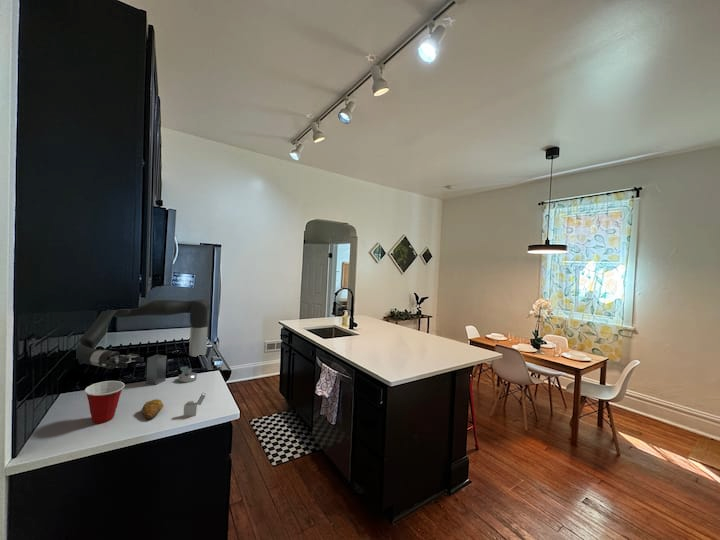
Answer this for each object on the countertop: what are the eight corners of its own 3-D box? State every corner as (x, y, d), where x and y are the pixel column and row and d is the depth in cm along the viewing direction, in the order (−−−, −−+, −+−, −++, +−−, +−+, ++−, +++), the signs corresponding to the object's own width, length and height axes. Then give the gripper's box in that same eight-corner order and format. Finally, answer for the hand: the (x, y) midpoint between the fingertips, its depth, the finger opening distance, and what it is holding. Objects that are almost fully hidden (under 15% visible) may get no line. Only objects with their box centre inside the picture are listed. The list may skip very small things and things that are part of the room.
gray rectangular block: (146, 383, 134) (147, 357, 134) (155, 379, 139) (156, 354, 139) (156, 384, 133) (157, 359, 133) (165, 380, 138) (166, 355, 138)
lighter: (183, 417, 108) (184, 396, 108) (183, 415, 110) (185, 394, 110) (204, 414, 111) (206, 393, 111) (205, 412, 113) (206, 391, 113)
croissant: (145, 405, 115) (146, 393, 115) (166, 403, 118) (166, 391, 118) (137, 423, 103) (138, 409, 103) (160, 420, 106) (160, 406, 106)
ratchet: (175, 370, 151) (176, 360, 151) (192, 368, 156) (192, 358, 156) (179, 384, 136) (179, 372, 136) (197, 381, 140) (198, 370, 140)
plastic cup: (99, 430, 97) (101, 394, 97) (74, 424, 99) (76, 390, 99) (130, 414, 108) (132, 382, 108) (107, 409, 110) (109, 378, 110)
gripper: (119, 361, 147) (147, 365, 145) (89, 371, 133) (119, 375, 131) (120, 346, 147) (148, 350, 145) (90, 355, 133) (121, 359, 131)
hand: (134, 362), depth 138 cm, fingers open, 8 cm apart
